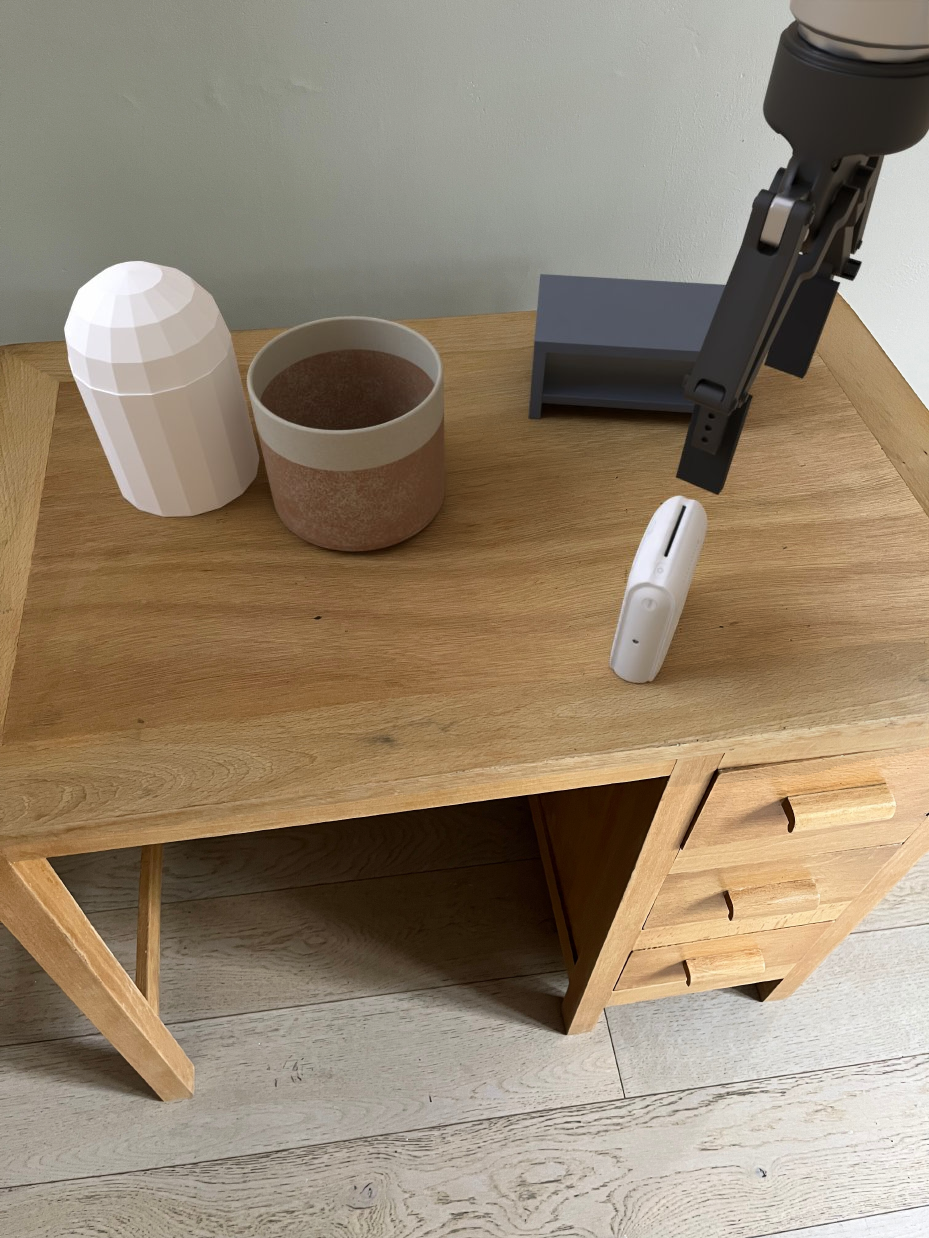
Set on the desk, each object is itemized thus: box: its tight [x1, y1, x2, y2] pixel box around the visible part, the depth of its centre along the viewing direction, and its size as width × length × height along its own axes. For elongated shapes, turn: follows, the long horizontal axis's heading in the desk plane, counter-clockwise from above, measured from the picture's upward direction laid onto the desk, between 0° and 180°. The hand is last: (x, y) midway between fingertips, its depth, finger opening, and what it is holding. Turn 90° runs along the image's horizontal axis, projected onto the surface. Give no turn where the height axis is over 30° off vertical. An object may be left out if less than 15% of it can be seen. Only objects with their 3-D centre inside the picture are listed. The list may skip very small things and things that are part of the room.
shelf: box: [528, 273, 726, 420], centre depth 87 cm, size 20×12×9 cm, turn 84°
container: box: [63, 260, 260, 518], centre depth 75 cm, size 13×13×20 cm
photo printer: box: [609, 495, 708, 684], centre depth 65 cm, size 10×4×12 cm, turn 157°
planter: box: [246, 315, 446, 552], centre depth 75 cm, size 16×16×14 cm
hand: (744, 422), depth 54 cm, fingers open, 13 cm apart
